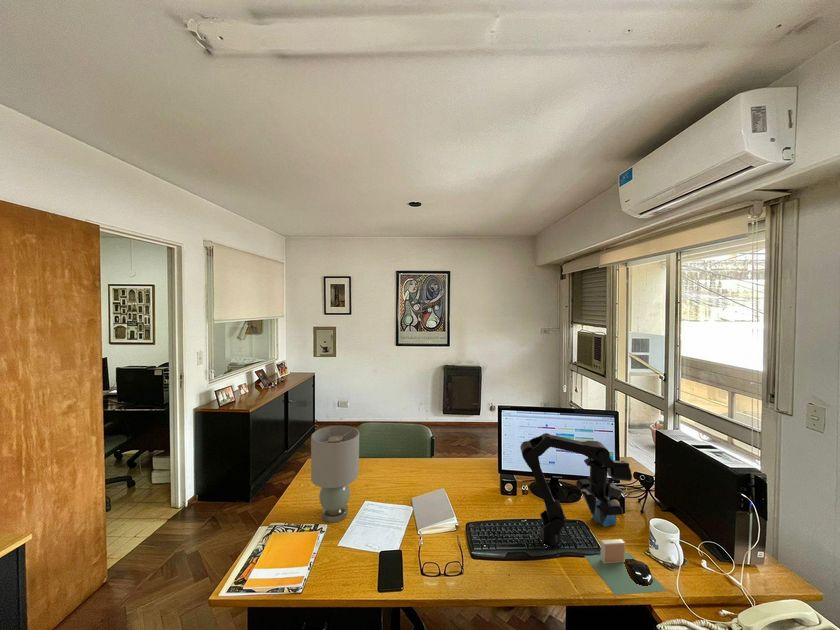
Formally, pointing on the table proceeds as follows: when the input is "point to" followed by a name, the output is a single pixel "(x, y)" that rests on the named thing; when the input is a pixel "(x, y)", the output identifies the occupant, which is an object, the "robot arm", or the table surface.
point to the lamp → (334, 468)
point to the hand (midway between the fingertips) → (597, 518)
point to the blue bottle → (609, 519)
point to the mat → (620, 577)
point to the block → (612, 551)
